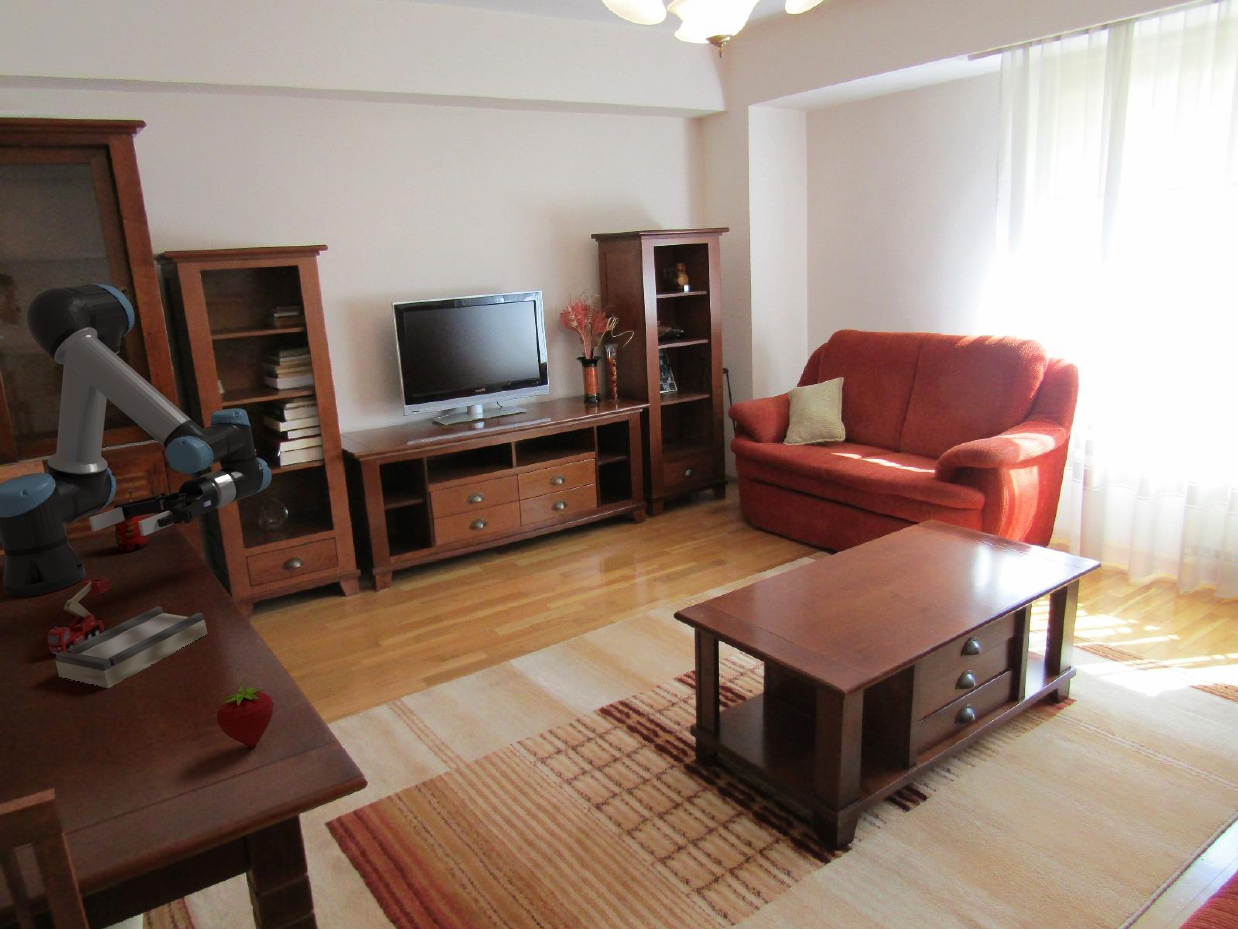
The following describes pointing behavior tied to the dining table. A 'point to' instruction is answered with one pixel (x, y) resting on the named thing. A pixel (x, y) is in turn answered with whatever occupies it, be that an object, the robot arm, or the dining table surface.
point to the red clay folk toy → (130, 532)
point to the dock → (129, 647)
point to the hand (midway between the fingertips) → (115, 526)
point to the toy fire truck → (78, 619)
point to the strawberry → (246, 715)
